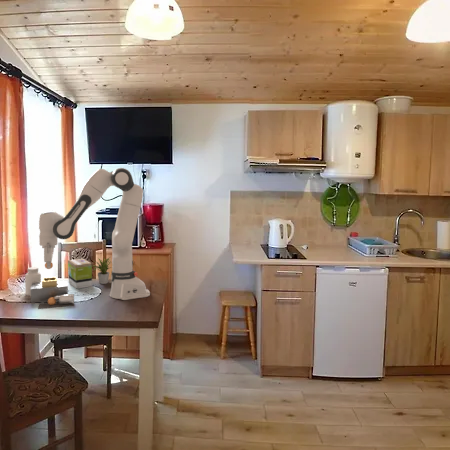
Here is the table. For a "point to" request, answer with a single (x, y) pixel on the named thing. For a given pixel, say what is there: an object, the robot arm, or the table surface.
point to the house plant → (103, 271)
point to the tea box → (80, 273)
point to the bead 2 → (51, 301)
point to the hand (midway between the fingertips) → (49, 266)
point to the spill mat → (46, 305)
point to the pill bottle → (31, 279)
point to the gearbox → (48, 289)
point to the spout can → (65, 299)
